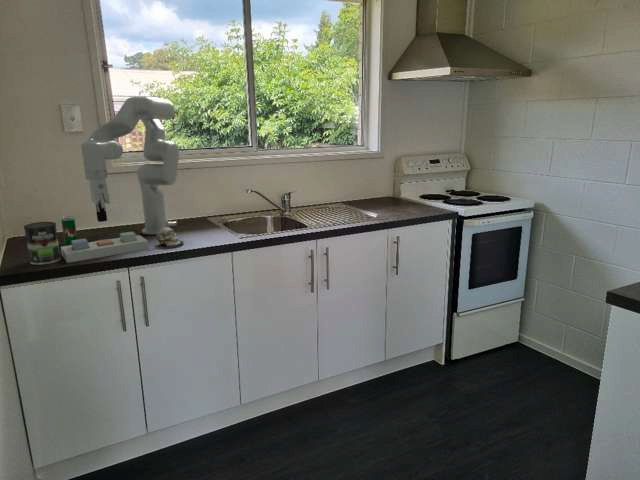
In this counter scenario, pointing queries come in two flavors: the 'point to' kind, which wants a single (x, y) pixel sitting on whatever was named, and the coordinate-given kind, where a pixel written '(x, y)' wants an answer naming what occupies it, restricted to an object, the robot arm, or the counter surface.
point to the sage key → (128, 237)
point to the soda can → (69, 229)
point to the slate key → (79, 244)
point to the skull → (167, 238)
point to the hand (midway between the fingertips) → (102, 220)
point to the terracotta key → (104, 242)
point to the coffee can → (42, 243)
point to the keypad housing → (103, 249)
